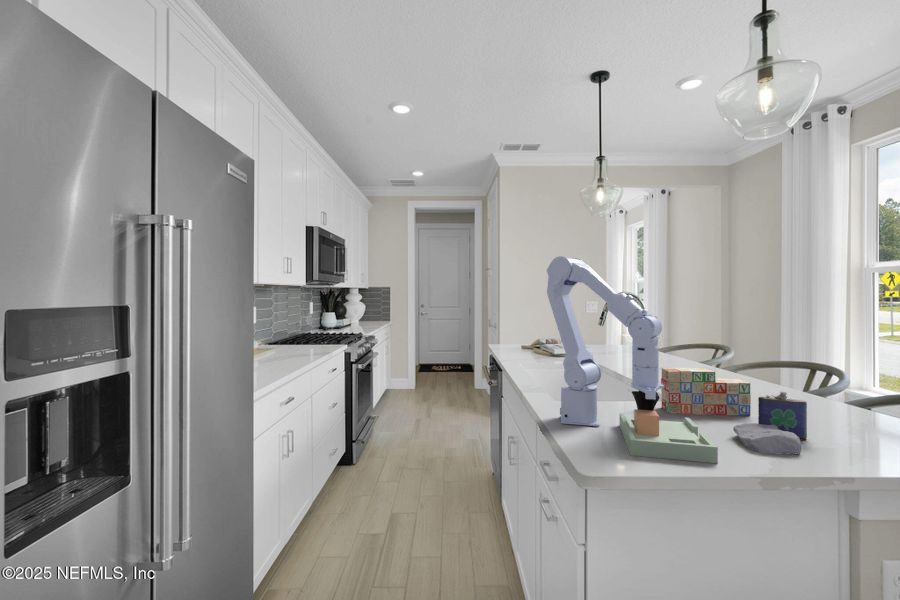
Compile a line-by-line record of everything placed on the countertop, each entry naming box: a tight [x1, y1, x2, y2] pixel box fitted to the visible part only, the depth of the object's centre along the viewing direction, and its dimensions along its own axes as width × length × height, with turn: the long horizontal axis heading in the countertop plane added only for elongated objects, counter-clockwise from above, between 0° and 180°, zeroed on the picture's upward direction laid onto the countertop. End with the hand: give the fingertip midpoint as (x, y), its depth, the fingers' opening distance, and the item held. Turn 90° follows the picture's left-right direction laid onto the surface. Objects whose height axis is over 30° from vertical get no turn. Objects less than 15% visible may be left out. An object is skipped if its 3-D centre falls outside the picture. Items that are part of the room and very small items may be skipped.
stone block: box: [732, 422, 802, 455], centre depth 95 cm, size 12×5×10 cm
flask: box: [757, 391, 808, 441], centre depth 99 cm, size 9×3×11 cm, turn 64°
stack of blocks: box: [660, 367, 752, 417], centre depth 121 cm, size 21×6×12 cm, turn 82°
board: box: [619, 412, 719, 464], centre depth 96 cm, size 16×21×3 cm
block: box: [633, 409, 660, 436], centre depth 97 cm, size 4×4×4 cm
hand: (645, 422), depth 101 cm, fingers closed
